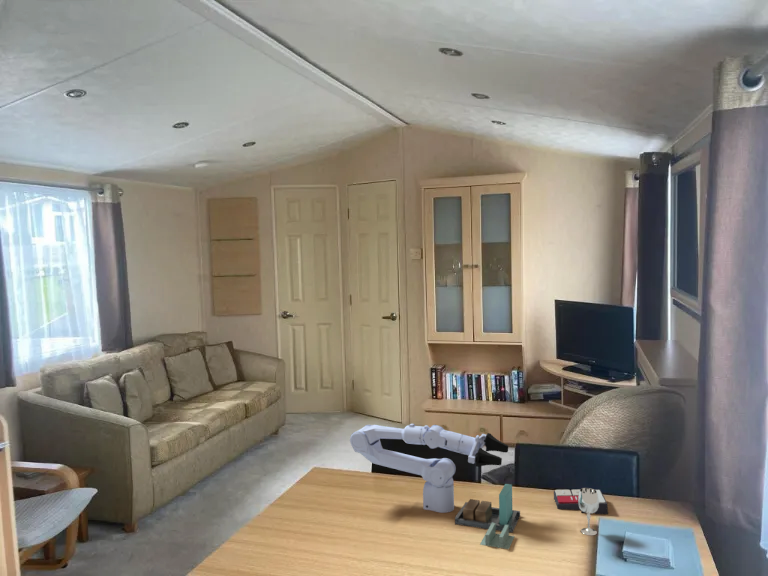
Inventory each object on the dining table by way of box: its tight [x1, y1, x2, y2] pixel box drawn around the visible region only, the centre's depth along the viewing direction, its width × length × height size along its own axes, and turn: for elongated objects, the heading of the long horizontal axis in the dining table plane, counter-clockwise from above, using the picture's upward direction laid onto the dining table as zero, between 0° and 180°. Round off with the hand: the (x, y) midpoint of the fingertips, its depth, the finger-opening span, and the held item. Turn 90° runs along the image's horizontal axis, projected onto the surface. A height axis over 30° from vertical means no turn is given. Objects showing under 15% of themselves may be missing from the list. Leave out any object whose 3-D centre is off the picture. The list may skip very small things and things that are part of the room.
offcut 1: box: [463, 498, 481, 520], centre depth 183 cm, size 3×8×4 cm, turn 157°
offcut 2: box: [475, 500, 493, 522], centre depth 181 cm, size 3×8×4 cm, turn 157°
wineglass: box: [578, 487, 599, 536], centre depth 173 cm, size 6×6×12 cm
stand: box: [479, 523, 515, 550], centre depth 167 cm, size 8×8×4 cm
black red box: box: [553, 488, 609, 515], centre depth 191 cm, size 11×4×15 cm
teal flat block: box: [498, 483, 514, 525], centre depth 178 cm, size 2×9×10 cm, turn 157°
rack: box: [454, 501, 521, 534], centre depth 181 cm, size 17×12×3 cm
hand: (504, 455), depth 181 cm, fingers open, 7 cm apart
